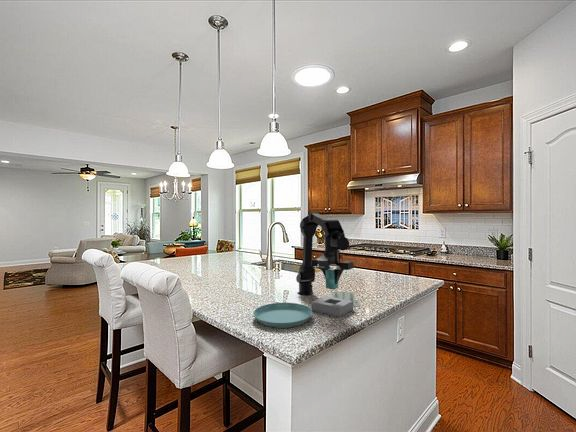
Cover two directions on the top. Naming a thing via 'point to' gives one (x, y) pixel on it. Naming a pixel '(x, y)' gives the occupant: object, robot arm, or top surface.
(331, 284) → the teal peg
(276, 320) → the saucer
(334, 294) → the metal bracket
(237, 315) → the top surface
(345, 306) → the well block
